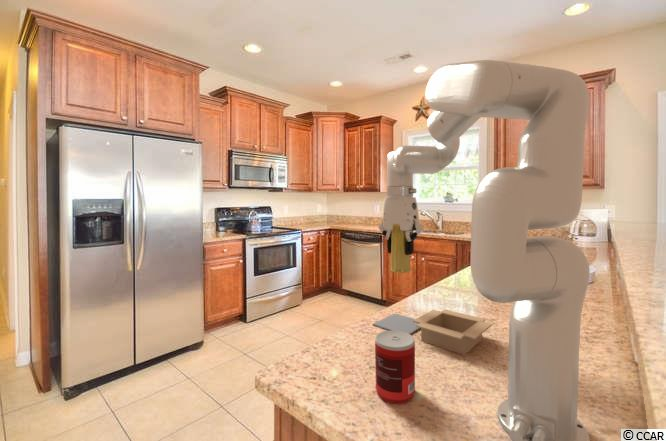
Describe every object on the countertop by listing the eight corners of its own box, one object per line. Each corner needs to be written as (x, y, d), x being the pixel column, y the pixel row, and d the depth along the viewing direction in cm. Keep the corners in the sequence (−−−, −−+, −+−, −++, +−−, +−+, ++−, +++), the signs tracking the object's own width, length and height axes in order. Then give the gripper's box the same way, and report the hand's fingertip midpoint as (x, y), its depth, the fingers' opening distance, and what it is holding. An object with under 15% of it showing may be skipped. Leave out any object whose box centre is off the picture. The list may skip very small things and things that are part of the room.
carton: (470, 362, 74) (470, 341, 74) (408, 341, 86) (408, 323, 85) (495, 339, 86) (495, 321, 85) (437, 323, 97) (437, 307, 97)
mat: (407, 336, 88) (407, 334, 88) (372, 325, 97) (372, 323, 97) (428, 324, 97) (428, 322, 97) (395, 314, 105) (395, 313, 105)
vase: (411, 273, 92) (411, 224, 91) (389, 272, 93) (389, 224, 93) (410, 268, 98) (410, 223, 97) (390, 268, 99) (390, 223, 99)
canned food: (408, 380, 67) (408, 329, 66) (420, 404, 59) (420, 346, 58) (372, 381, 67) (372, 330, 66) (379, 405, 59) (378, 348, 58)
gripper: (432, 192, 91) (432, 254, 92) (383, 194, 103) (384, 249, 104) (419, 191, 86) (419, 258, 87) (369, 193, 98) (369, 252, 99)
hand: (400, 252), depth 95 cm, fingers closed on vase, 5 cm apart
